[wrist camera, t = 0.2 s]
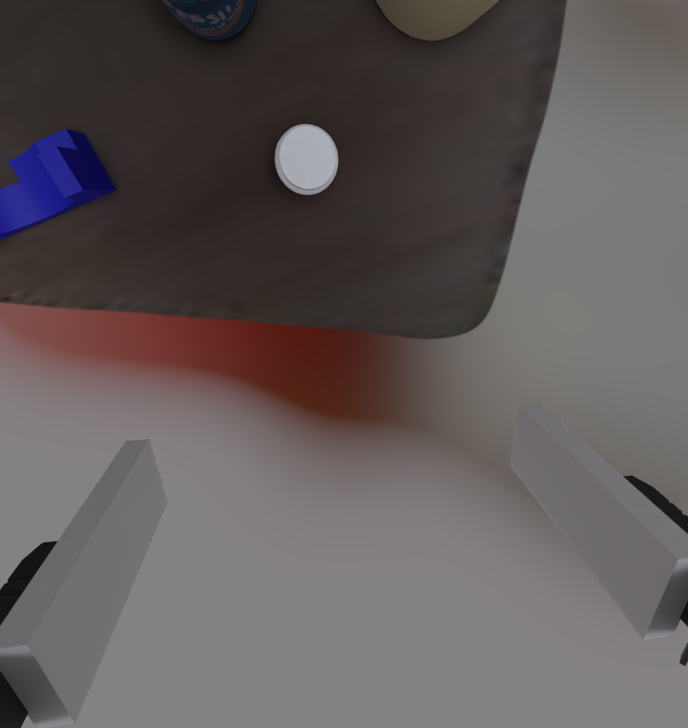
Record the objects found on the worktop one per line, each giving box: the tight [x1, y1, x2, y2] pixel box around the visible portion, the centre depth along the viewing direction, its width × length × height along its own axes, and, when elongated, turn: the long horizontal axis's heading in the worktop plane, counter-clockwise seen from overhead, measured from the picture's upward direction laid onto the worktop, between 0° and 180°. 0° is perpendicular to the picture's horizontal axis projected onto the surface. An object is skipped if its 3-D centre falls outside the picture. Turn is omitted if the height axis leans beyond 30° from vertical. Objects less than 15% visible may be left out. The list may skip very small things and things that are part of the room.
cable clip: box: [0, 129, 116, 240], centre depth 31 cm, size 12×4×6 cm, turn 111°
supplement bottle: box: [275, 124, 338, 195], centre depth 31 cm, size 5×5×8 cm
